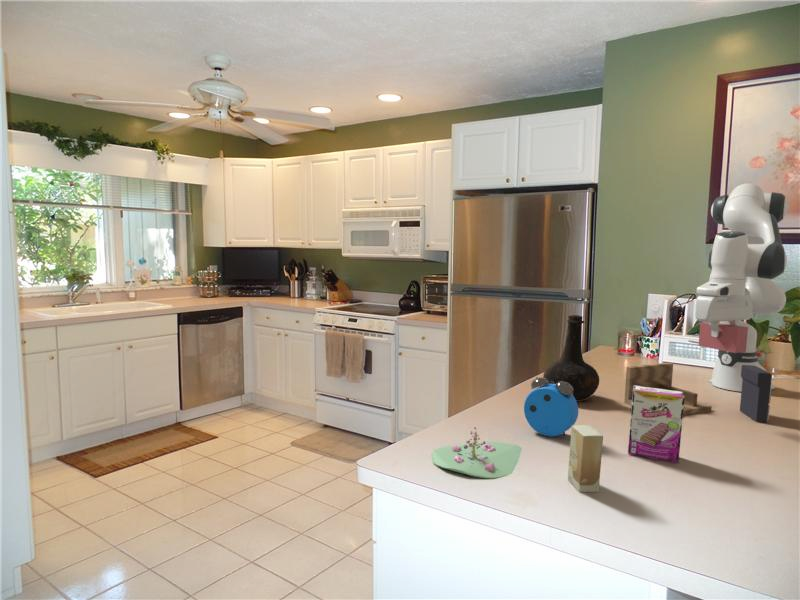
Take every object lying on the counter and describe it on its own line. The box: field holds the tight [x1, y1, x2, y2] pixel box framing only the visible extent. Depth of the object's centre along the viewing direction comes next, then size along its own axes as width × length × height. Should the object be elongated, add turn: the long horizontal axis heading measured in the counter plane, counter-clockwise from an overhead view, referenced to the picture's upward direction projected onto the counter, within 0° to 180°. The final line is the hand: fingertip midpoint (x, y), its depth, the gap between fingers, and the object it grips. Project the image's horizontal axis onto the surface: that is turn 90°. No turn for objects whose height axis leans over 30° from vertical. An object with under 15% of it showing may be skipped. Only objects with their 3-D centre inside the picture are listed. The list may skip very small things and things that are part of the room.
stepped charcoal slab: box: [739, 365, 773, 423], centre depth 156 cm, size 11×4×15 cm, turn 168°
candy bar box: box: [627, 386, 684, 463], centre depth 124 cm, size 11×5×16 cm, turn 65°
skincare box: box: [567, 424, 604, 493], centre depth 107 cm, size 6×4×12 cm
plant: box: [431, 426, 522, 479], centre depth 121 cm, size 25×21×9 cm
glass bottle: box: [542, 314, 600, 402], centre depth 171 cm, size 18×18×28 cm
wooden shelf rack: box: [623, 362, 713, 416], centre depth 164 cm, size 20×16×12 cm
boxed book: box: [698, 321, 748, 353], centre depth 148 cm, size 4×11×7 cm, turn 24°
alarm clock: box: [523, 376, 579, 438], centre depth 137 cm, size 13×6×15 cm, turn 52°
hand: (722, 336), depth 148 cm, fingers closed on boxed book, 4 cm apart
